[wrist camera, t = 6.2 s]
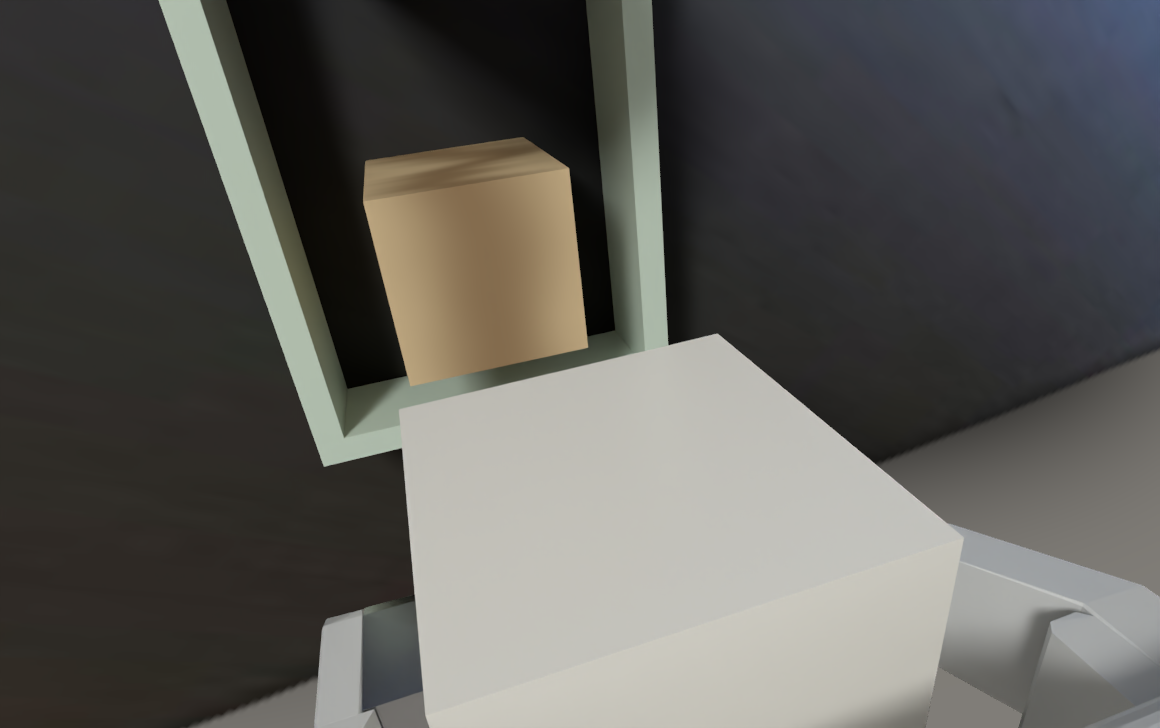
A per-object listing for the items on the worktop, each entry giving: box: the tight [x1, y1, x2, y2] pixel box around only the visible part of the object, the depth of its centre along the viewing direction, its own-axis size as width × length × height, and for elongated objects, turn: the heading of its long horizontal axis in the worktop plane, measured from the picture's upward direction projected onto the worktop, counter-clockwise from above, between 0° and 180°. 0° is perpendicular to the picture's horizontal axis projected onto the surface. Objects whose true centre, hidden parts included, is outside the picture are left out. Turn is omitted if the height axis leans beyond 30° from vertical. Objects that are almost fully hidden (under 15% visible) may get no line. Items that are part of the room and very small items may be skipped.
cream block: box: [399, 334, 964, 728], centre depth 9 cm, size 5×5×5 cm
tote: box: [159, 0, 668, 466], centre depth 22 cm, size 14×25×4 cm, turn 6°
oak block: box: [363, 137, 588, 386], centre depth 24 cm, size 6×6×7 cm
